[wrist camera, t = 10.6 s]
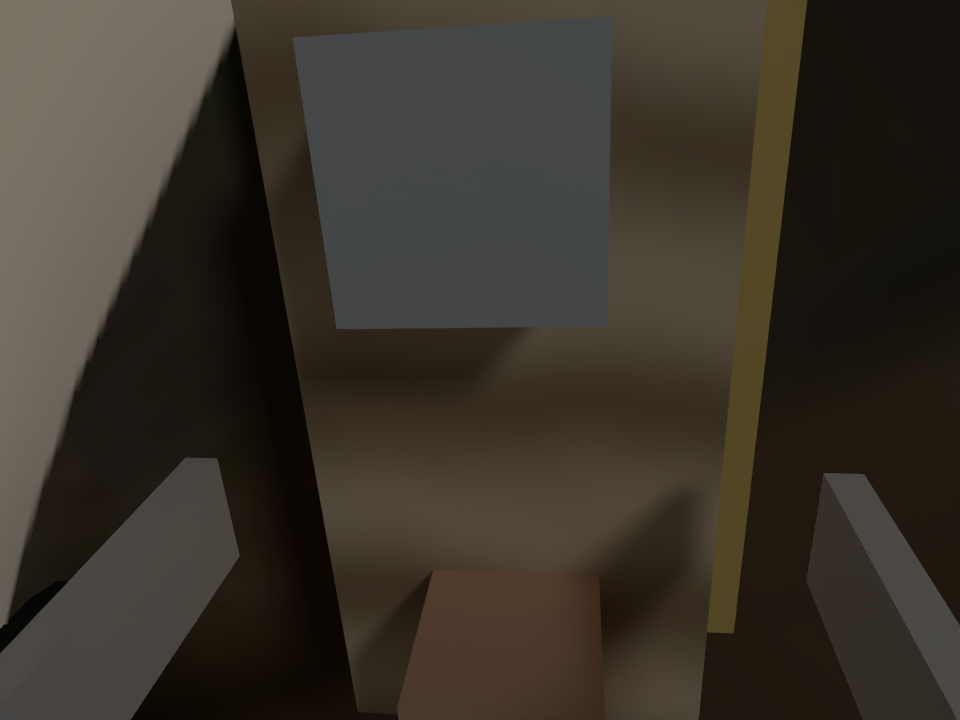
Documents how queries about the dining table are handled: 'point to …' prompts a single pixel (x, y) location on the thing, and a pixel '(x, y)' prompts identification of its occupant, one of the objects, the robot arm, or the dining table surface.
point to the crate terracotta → (506, 649)
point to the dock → (755, 295)
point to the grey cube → (463, 172)
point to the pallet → (536, 360)
